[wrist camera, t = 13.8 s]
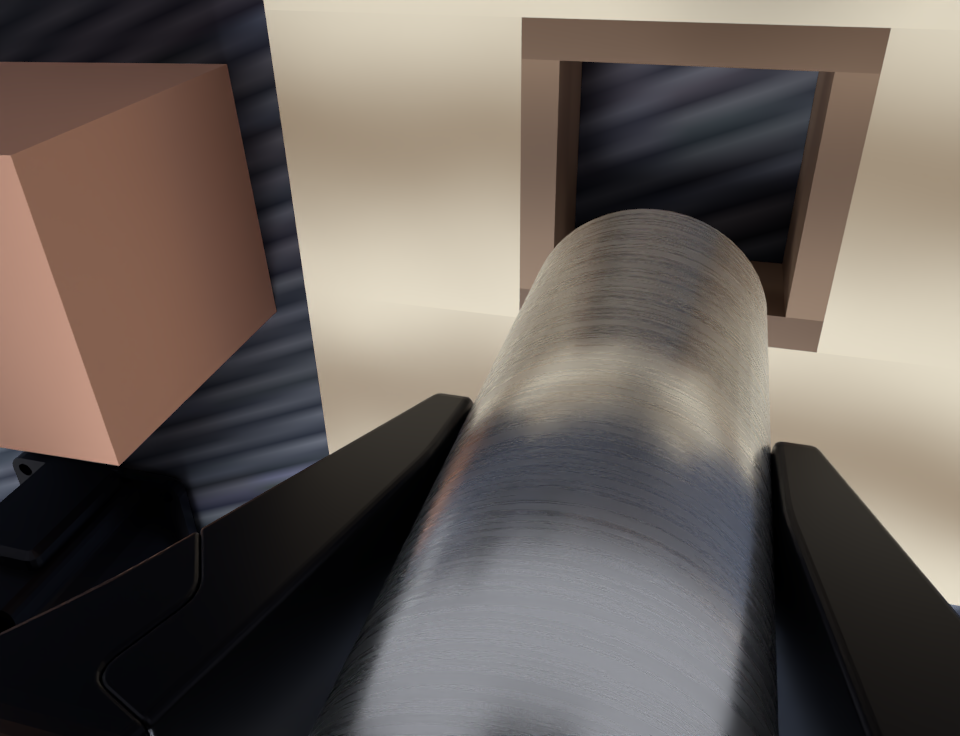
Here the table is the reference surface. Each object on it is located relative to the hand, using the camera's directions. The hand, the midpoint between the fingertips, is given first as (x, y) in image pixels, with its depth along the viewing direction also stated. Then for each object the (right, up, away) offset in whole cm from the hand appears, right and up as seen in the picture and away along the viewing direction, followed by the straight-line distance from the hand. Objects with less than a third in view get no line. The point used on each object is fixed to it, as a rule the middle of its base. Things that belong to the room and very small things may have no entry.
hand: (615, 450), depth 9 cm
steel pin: (+1, +2, +2) cm, 3 cm away
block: (-12, +6, +13) cm, 18 cm away
